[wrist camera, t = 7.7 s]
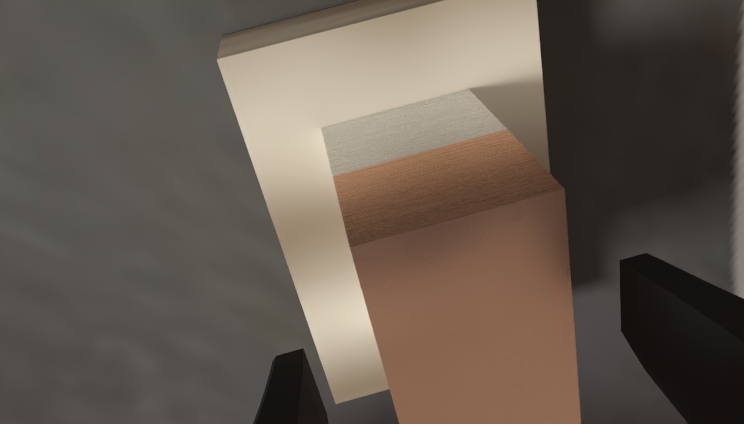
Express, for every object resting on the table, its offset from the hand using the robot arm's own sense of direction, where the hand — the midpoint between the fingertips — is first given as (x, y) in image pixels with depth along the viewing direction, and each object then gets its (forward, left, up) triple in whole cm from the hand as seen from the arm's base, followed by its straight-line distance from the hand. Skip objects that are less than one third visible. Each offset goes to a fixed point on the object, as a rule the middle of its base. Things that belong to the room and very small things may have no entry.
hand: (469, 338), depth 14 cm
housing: (0, 0, -5) cm, 5 cm away
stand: (0, 0, -8) cm, 8 cm away
